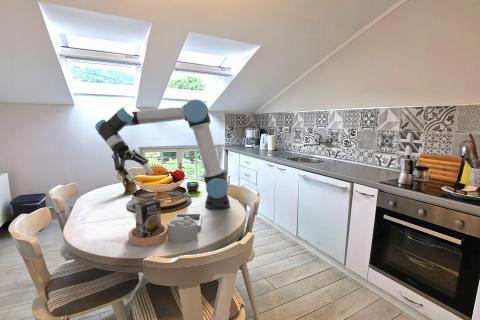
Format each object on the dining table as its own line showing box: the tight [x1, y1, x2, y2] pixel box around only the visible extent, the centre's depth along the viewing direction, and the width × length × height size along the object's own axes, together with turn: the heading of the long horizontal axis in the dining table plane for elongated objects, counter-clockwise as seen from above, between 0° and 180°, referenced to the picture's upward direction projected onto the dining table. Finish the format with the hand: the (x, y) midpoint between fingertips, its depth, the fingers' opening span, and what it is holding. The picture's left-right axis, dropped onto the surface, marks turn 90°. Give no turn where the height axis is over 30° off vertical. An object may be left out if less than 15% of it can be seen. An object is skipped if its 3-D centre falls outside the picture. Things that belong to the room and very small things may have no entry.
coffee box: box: [134, 198, 162, 238], centre depth 111 cm, size 9×6×16 cm
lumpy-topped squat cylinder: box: [166, 216, 199, 244], centre depth 113 cm, size 10×13×9 cm
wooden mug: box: [117, 170, 138, 195], centre depth 175 cm, size 9×14×18 cm, turn 153°
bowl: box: [128, 223, 168, 248], centre depth 112 cm, size 16×16×4 cm
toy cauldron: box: [184, 180, 204, 197], centre depth 179 cm, size 15×15×11 cm
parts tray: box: [174, 212, 203, 231], centre depth 127 cm, size 14×16×2 cm
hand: (142, 176), depth 126 cm, fingers open, 13 cm apart
